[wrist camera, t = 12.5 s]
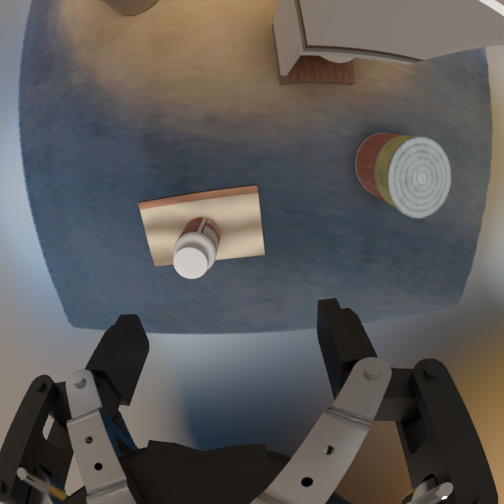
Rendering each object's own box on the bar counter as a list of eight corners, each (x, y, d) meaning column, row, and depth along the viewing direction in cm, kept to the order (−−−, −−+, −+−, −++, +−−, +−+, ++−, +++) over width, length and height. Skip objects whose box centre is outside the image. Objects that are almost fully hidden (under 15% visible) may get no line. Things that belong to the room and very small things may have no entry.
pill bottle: (182, 246, 46) (165, 278, 36) (187, 212, 44) (169, 237, 34) (218, 253, 47) (209, 288, 37) (224, 219, 44) (216, 247, 34)
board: (139, 202, 43) (138, 203, 43) (257, 184, 43) (257, 185, 42) (155, 264, 48) (154, 266, 48) (264, 253, 48) (264, 254, 47)
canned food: (420, 157, 40) (461, 169, 29) (390, 207, 44) (426, 232, 33) (374, 119, 38) (412, 119, 27) (343, 174, 42) (372, 190, 31)
